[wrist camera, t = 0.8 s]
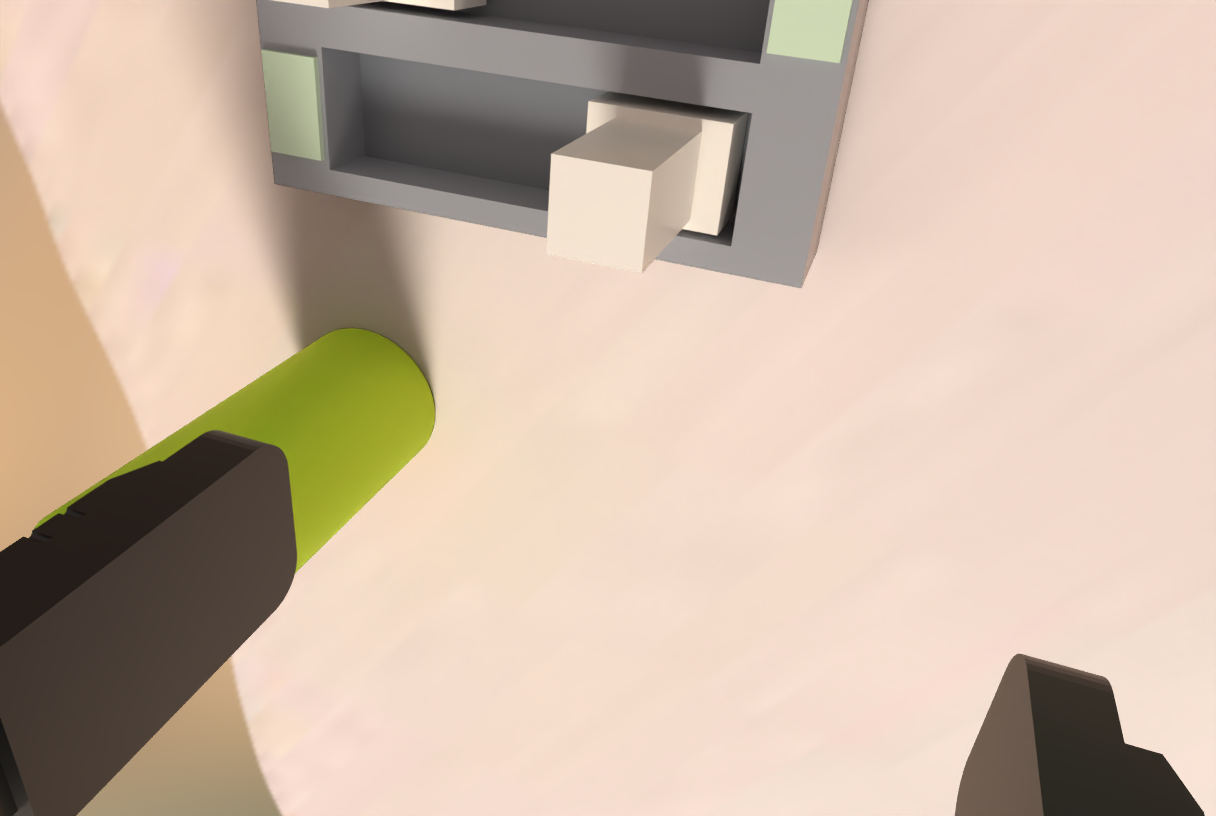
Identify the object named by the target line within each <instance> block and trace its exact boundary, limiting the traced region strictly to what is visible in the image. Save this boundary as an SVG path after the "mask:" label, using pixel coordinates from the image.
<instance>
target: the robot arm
mask: <svg viewBox="0 0 1216 816" xmlns="http://www.w3.org/2000/svg"><path fill="white" fill-rule="evenodd" d="M296 565H297V547H296V537H295V527H294V517H293V507H292V497H291V488H290V478H289V468H288V462H287V458H286V456H285V454H284V452H283V451H282V450H281V449H280V448H279V447H277V446H275V445H271V444H268V443H264V442H260V441H257V440H253V439H249V438H246V437H242V436H239V435H235V434H231V433H228V432H224V431H220V430H211V431H208V432H205V433H204V434H202V435H200V436H199V437H197V438H196V439H194V440H193V441H191V442H190V443H188V444H187V445H186V446H184V447H183V448H181V449H180V450H178V451H177V452H175V453H174V454H173V455H171V456H170V457H168V458H167V459H165V460H164V461H157V462H154V463H151V464H149V465H146V466H144V467H141V468H138V469H136V470H133V471H130V472H128V473H125V474H122V475H120V476H117V477H115V478H112V479H109V480H107V481H106V482H104V483H103V484H101V485H100V486H98V487H97V488H95V489H94V490H92V491H91V492H89V493H88V494H86V495H85V496H83V497H82V498H80V499H79V500H77V501H76V502H74V503H73V504H71V505H70V506H68V507H67V511H66V513H65V514H64V515H63V514H60V513H58V514H56V515H55V516H53V517H52V518H50V519H49V520H47V521H46V522H44V523H43V524H41V525H40V526H38V527H37V528H35V529H34V530H33V531H32V535H31V536H30V537H29V538H26V537H22V538H21V539H19V540H18V541H16V542H15V543H13V544H12V545H10V546H9V547H7V548H6V549H4V550H3V551H1V552H0V816H76V815H77V814H78V813H79V812H80V811H81V810H82V809H83V808H84V807H85V806H86V805H87V804H88V803H89V802H90V801H91V800H92V799H93V798H94V797H95V796H96V794H97V793H98V792H99V791H100V790H101V789H102V788H103V787H104V786H105V785H106V784H107V783H108V782H109V781H110V780H111V779H112V778H113V777H114V776H115V775H116V774H117V773H118V772H119V771H120V770H121V769H122V768H123V767H124V766H125V764H127V763H128V762H129V761H130V759H131V758H132V757H133V756H134V755H135V754H136V753H137V752H138V751H139V750H140V749H141V748H142V747H143V746H144V745H145V744H146V743H147V742H148V741H149V740H150V739H151V738H152V737H153V736H154V735H155V734H156V733H157V732H158V731H159V730H160V728H161V727H163V725H164V724H165V723H166V722H167V721H168V720H169V719H170V718H171V717H172V716H173V715H174V714H175V713H176V712H177V711H178V710H179V709H180V708H181V707H182V706H183V705H184V704H185V703H186V702H187V701H188V700H189V699H190V698H191V697H192V696H193V695H194V693H196V691H197V690H198V689H199V688H200V687H201V686H202V685H203V684H204V683H205V682H206V681H207V680H208V679H209V678H210V677H211V676H212V675H213V674H214V673H215V672H216V671H217V670H218V669H219V668H220V667H221V666H222V665H223V663H225V662H226V661H227V660H228V658H229V657H230V656H231V655H232V654H233V653H234V652H235V651H236V650H237V649H238V648H239V647H240V646H241V645H242V644H243V643H244V642H245V641H246V640H247V639H248V638H249V637H250V636H251V635H252V634H253V633H254V632H255V631H256V630H257V629H258V628H259V627H260V625H261V624H262V623H263V622H264V621H265V620H266V619H267V618H268V617H269V616H270V615H271V614H272V613H273V612H274V611H275V610H276V609H277V608H278V606H279V605H280V604H281V602H282V601H283V600H284V598H285V596H286V594H287V593H288V590H289V588H290V586H291V584H292V581H293V578H294V575H295V571H296ZM955 816H1205V815H1204V812H1203V811H1202V809H1201V808H1200V806H1199V805H1198V804H1197V802H1196V801H1195V799H1194V798H1193V797H1192V795H1191V794H1190V792H1189V791H1188V789H1187V788H1186V787H1185V785H1184V784H1183V782H1182V781H1181V780H1180V778H1179V777H1178V775H1177V774H1176V773H1175V771H1174V770H1173V768H1172V767H1171V766H1170V764H1169V763H1168V761H1167V760H1166V759H1165V757H1164V756H1163V754H1159V753H1156V752H1152V751H1149V750H1146V749H1142V748H1139V747H1135V746H1132V745H1128V744H1125V743H1124V739H1123V734H1122V730H1121V725H1120V721H1119V716H1118V712H1117V707H1116V703H1115V698H1114V694H1113V690H1112V687H1111V685H1110V683H1109V681H1108V680H1107V679H1106V678H1105V677H1103V676H1099V675H1095V674H1092V673H1088V672H1085V671H1081V670H1077V669H1074V668H1070V667H1066V666H1063V665H1059V664H1056V663H1052V662H1048V661H1045V660H1041V659H1038V658H1034V657H1030V656H1027V655H1023V654H1017V655H1015V656H1014V657H1013V658H1012V660H1011V661H1010V663H1009V664H1008V666H1007V669H1006V671H1005V673H1004V675H1003V678H1002V680H1001V682H1000V685H999V687H998V689H997V692H996V694H995V696H994V699H993V701H992V703H991V706H990V708H989V711H988V713H987V715H986V718H985V720H984V722H983V725H982V727H981V729H980V732H979V734H978V736H977V739H976V741H975V743H974V746H973V748H972V750H971V753H970V755H969V757H968V760H967V762H966V765H965V768H964V771H963V775H962V778H961V782H960V787H959V792H958V797H957V803H956V811H955Z"/></svg>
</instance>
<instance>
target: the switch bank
mask: <svg viewBox="0 0 1216 816" xmlns="http://www.w3.org/2000/svg"><path fill="white" fill-rule="evenodd" d="M256 2H257V12H258V22H259V32H260V42H261V54H262V64H263V74H264V84H265V94H266V104H267V114H268V124H269V134H270V144H271V152H272V162H273V172H274V182H275V184H278V185H283V186H288V187H293V188H298V189H303V190H308V191H313V192H318V193H323V194H328V195H333V196H338V197H343V198H348V199H354V200H359V201H364V202H369V203H374V204H379V205H384V206H389V207H394V208H399V209H404V210H409V211H414V212H419V213H424V214H429V215H434V216H439V217H444V218H449V219H454V220H459V221H464V222H469V223H474V224H480V225H485V226H490V227H495V228H500V229H505V230H510V231H515V232H520V233H525V234H530V235H535V236H540V237H545V238H547V225H548V206H549V187H550V168H551V154H552V153H553V152H555V151H557V150H559V149H560V148H562V147H564V146H566V145H567V144H569V143H571V142H573V141H574V140H576V139H578V138H580V137H582V136H583V135H585V134H586V128H587V114H588V101H590V100H592V99H594V98H596V97H598V96H600V95H602V94H604V93H607V92H609V91H611V92H618V93H624V94H631V95H637V96H644V97H650V98H657V99H663V100H670V101H676V102H683V103H689V104H696V105H702V106H709V107H715V108H722V109H728V110H735V111H741V112H748V118H747V124H746V131H745V137H744V144H743V150H742V157H741V163H740V169H739V176H738V182H737V189H736V195H735V202H734V208H733V214H732V217H731V218H730V219H729V221H728V222H727V223H726V225H725V226H724V227H723V229H722V230H721V231H720V232H719V234H718V235H712V234H706V233H701V232H696V231H690V230H685V229H682V230H681V231H680V232H679V233H678V234H677V235H676V236H675V237H674V238H673V240H672V241H671V242H670V243H669V244H668V245H667V246H666V247H665V248H664V249H663V251H662V252H661V253H660V254H659V255H658V256H657V257H656V258H655V259H656V260H661V261H666V262H671V263H676V264H681V265H686V266H691V267H696V268H701V269H706V270H711V271H716V272H721V273H726V274H732V275H737V276H742V277H747V278H752V279H757V280H762V281H767V282H772V283H777V284H782V285H787V286H792V287H797V288H801V287H802V285H803V283H804V281H805V278H806V276H807V274H808V271H809V269H810V267H811V264H812V262H813V260H814V257H815V255H816V252H817V248H818V243H819V238H820V233H821V228H822V223H823V219H824V214H825V209H826V204H827V199H828V195H829V190H830V185H831V180H832V175H833V170H834V166H835V161H836V156H837V151H838V146H839V141H840V137H841V132H842V127H843V122H844V117H845V113H846V108H847V103H848V98H849V93H850V88H851V84H852V79H853V74H854V69H855V64H856V59H857V55H858V50H859V45H860V40H861V35H862V30H863V26H864V21H865V16H866V11H867V6H868V2H869V0H486V5H483V6H477V7H471V8H466V9H460V10H447V9H439V8H432V7H425V6H417V5H410V4H403V3H395V2H388V1H379V2H372V3H364V4H357V5H350V6H342V7H335V8H323V7H316V6H308V5H301V4H294V3H287V2H280V1H273V0H256Z"/></svg>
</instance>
